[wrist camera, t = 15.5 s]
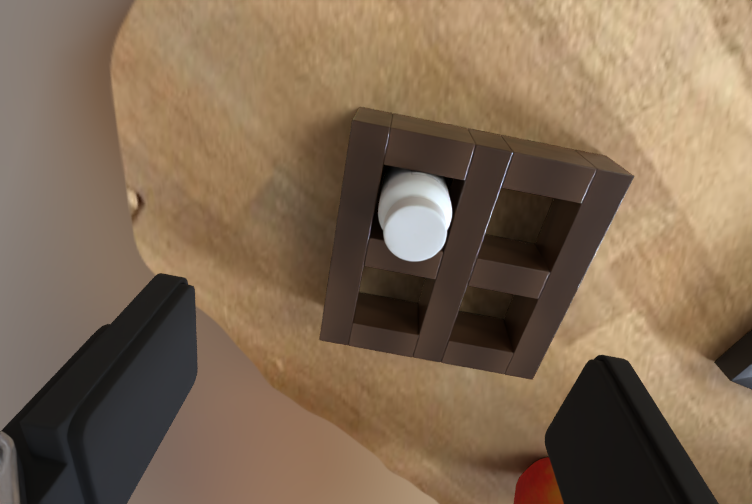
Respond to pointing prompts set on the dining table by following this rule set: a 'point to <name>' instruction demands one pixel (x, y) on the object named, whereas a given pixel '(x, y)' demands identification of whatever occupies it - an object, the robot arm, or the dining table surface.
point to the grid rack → (467, 243)
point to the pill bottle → (414, 213)
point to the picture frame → (738, 362)
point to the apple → (538, 485)
